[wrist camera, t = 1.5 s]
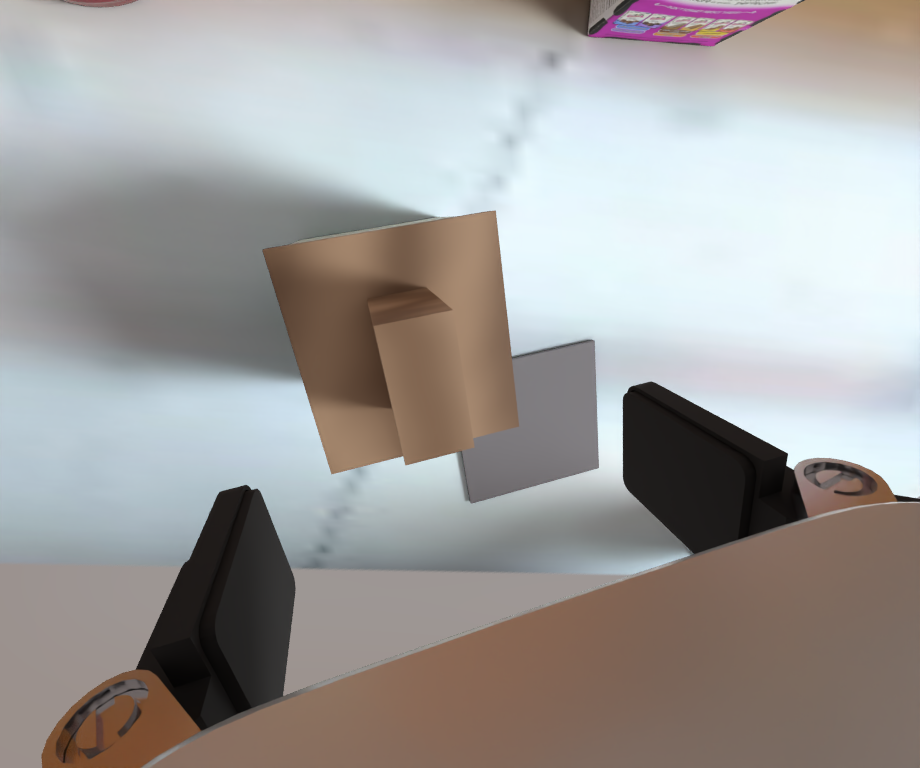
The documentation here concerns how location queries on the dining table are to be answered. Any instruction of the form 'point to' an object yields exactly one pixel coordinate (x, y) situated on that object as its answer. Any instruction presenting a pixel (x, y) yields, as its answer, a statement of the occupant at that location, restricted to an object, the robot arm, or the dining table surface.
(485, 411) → the lid
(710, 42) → the candy bar box
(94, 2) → the canister
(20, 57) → the dining table surface
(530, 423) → the mat
